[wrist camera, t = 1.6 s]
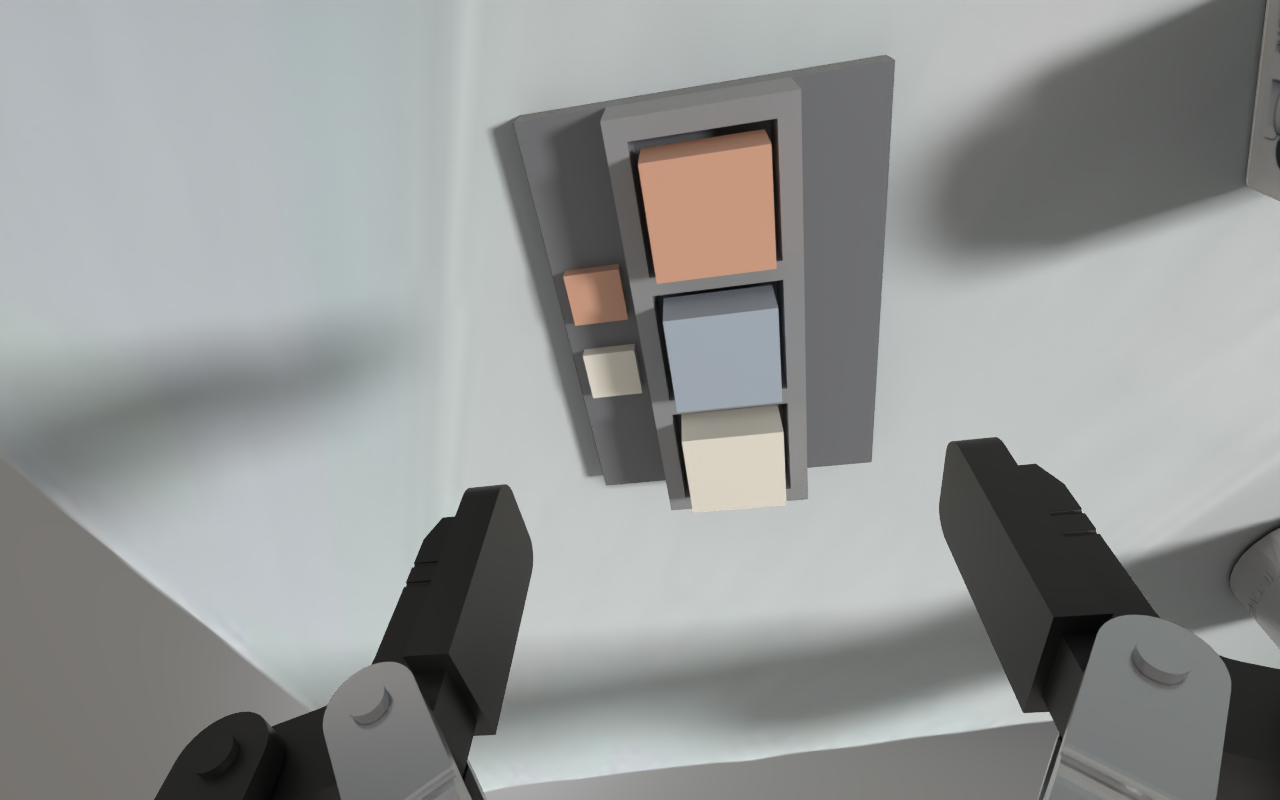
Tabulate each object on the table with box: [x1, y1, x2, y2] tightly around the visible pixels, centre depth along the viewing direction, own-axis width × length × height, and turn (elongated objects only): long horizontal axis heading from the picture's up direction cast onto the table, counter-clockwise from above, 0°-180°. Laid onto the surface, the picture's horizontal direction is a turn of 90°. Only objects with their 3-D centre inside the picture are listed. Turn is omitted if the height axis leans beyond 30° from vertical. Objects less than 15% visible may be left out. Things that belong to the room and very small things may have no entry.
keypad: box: [513, 55, 895, 510], centre depth 29 cm, size 14×19×4 cm
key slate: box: [663, 285, 782, 413], centre depth 27 cm, size 4×4×2 cm
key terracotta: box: [638, 129, 777, 284], centre depth 23 cm, size 4×4×2 cm
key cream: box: [681, 405, 787, 513], centre depth 30 cm, size 4×4×2 cm
